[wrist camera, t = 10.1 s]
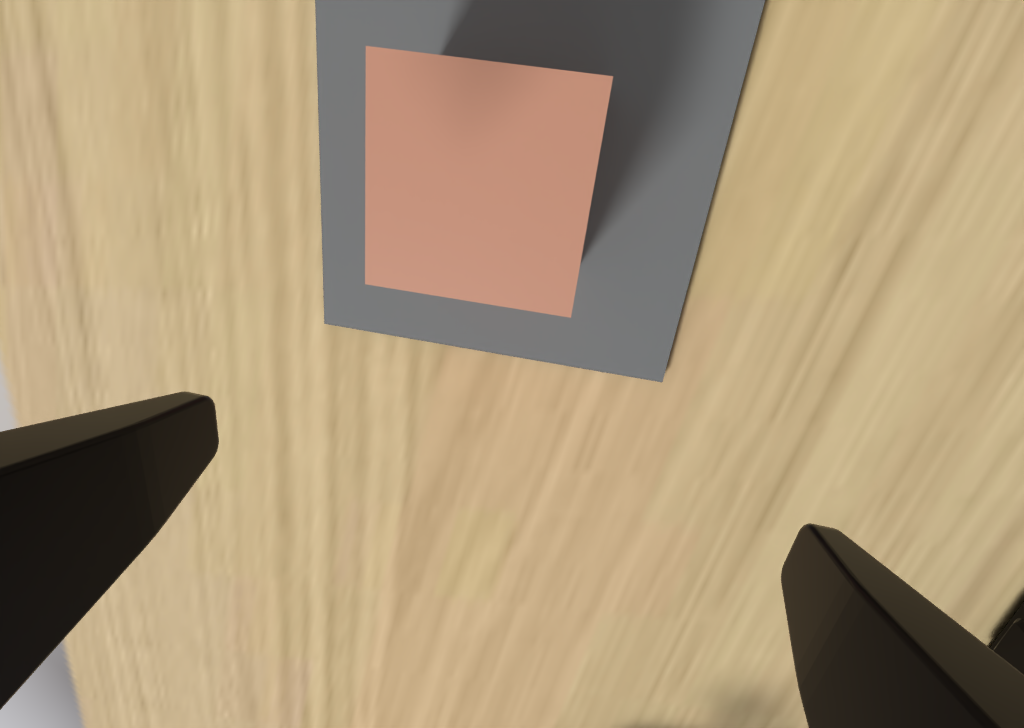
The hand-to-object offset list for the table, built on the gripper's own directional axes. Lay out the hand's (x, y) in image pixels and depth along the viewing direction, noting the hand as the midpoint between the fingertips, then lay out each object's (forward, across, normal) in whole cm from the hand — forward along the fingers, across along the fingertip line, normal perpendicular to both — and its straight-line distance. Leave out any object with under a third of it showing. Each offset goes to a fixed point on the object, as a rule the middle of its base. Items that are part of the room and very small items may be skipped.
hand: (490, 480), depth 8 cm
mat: (+11, +2, -3) cm, 11 cm away
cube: (+10, +2, -3) cm, 11 cm away
